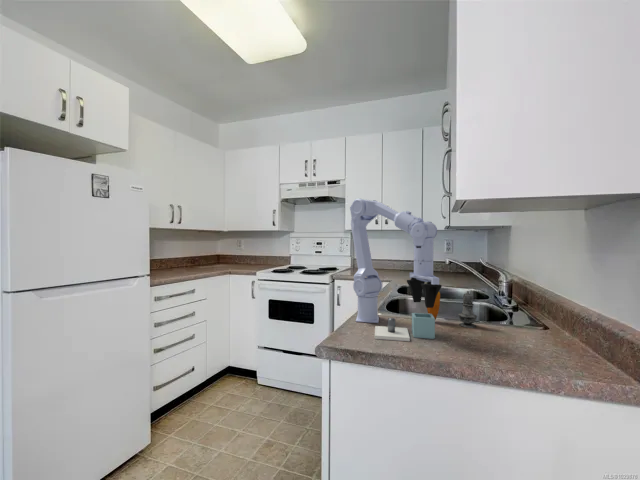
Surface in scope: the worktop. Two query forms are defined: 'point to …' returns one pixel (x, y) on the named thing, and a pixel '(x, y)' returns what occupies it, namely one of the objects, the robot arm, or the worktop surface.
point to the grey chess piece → (467, 312)
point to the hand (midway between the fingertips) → (423, 304)
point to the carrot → (435, 306)
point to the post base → (391, 332)
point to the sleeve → (423, 325)
